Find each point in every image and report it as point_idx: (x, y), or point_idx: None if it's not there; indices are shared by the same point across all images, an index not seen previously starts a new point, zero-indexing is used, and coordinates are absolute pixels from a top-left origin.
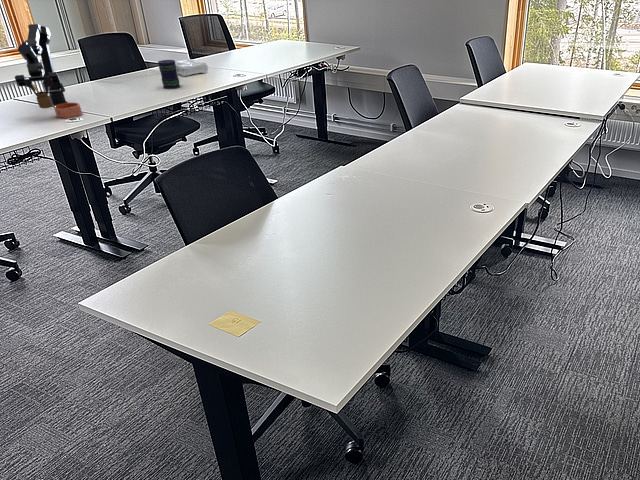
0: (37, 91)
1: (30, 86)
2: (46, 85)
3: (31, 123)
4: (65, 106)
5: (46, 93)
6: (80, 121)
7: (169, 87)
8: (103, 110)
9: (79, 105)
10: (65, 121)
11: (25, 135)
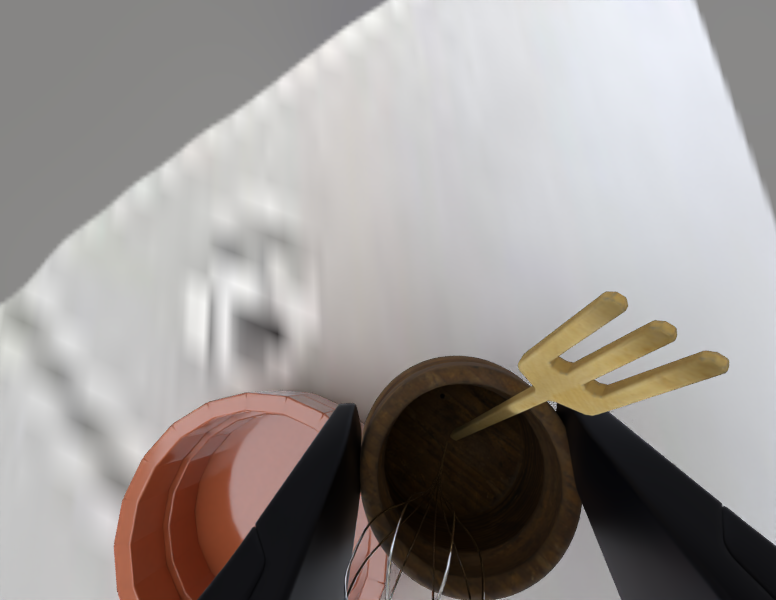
0: (527, 390)
1: (772, 544)
2: (278, 547)
3: (593, 333)
4: None
5: (370, 422)
6: (209, 251)
7: None
8: (10, 566)
9: (124, 513)
10: (317, 294)
11: (562, 6)
